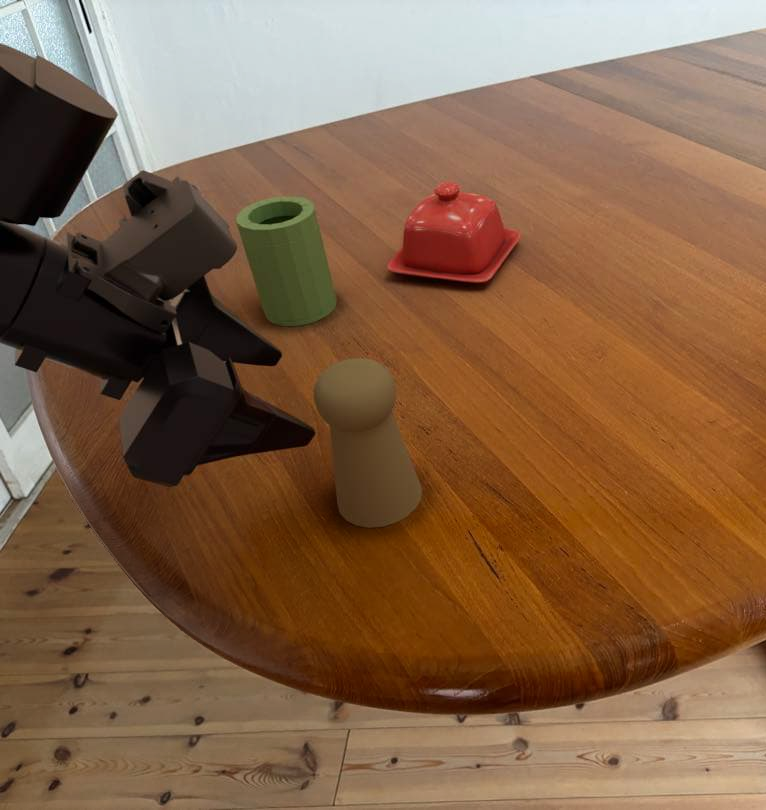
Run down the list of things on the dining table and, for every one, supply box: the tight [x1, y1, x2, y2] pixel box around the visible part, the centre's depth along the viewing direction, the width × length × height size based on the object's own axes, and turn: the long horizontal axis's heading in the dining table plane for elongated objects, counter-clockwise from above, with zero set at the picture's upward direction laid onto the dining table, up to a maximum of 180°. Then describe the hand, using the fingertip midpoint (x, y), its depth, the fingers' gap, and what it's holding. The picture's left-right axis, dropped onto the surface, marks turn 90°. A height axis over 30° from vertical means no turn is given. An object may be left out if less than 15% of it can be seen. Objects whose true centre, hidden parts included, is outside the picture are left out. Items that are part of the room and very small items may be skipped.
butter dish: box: [386, 181, 522, 284], centre depth 83 cm, size 12×12×8 cm
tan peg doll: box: [313, 357, 423, 529], centre depth 55 cm, size 6×6×11 cm
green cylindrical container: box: [235, 196, 338, 327], centre depth 77 cm, size 7×7×10 cm
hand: (294, 396), depth 51 cm, fingers open, 9 cm apart
